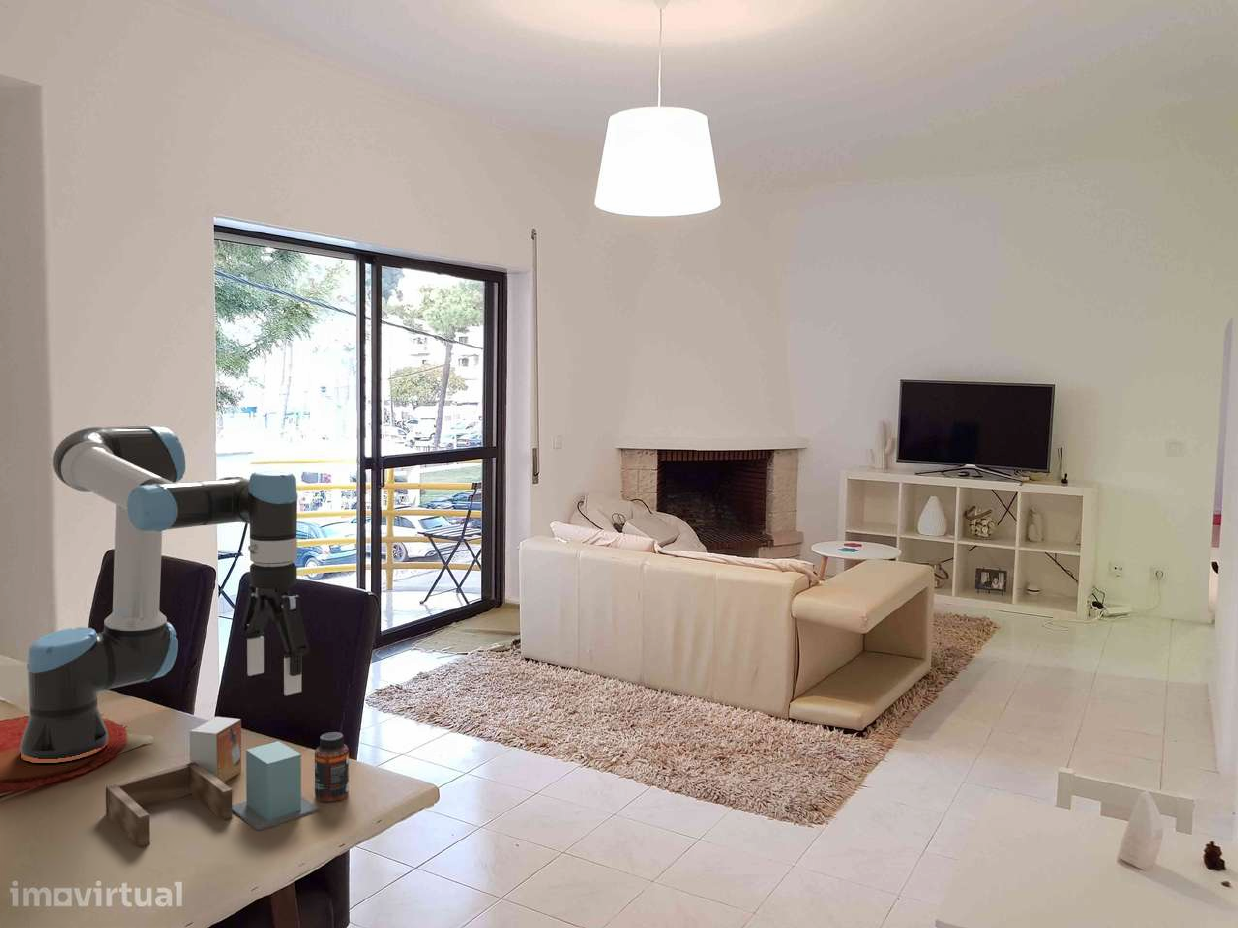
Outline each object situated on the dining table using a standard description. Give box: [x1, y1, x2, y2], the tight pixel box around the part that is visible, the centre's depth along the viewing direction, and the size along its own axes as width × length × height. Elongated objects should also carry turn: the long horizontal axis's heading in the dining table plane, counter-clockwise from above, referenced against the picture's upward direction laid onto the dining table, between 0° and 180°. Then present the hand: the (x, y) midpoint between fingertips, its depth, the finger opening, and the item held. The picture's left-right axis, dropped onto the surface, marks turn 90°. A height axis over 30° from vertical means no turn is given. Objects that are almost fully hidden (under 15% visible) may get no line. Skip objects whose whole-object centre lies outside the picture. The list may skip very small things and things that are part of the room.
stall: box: [105, 762, 233, 848], centre depth 160 cm, size 16×15×5 cm
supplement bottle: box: [314, 731, 350, 803], centre depth 169 cm, size 6×6×11 cm
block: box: [245, 740, 302, 820], centre depth 163 cm, size 6×8×10 cm
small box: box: [189, 716, 242, 784], centre depth 175 cm, size 8×6×10 cm
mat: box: [232, 796, 320, 831], centre depth 164 cm, size 11×11×1 cm
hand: (273, 683), depth 162 cm, fingers open, 13 cm apart
